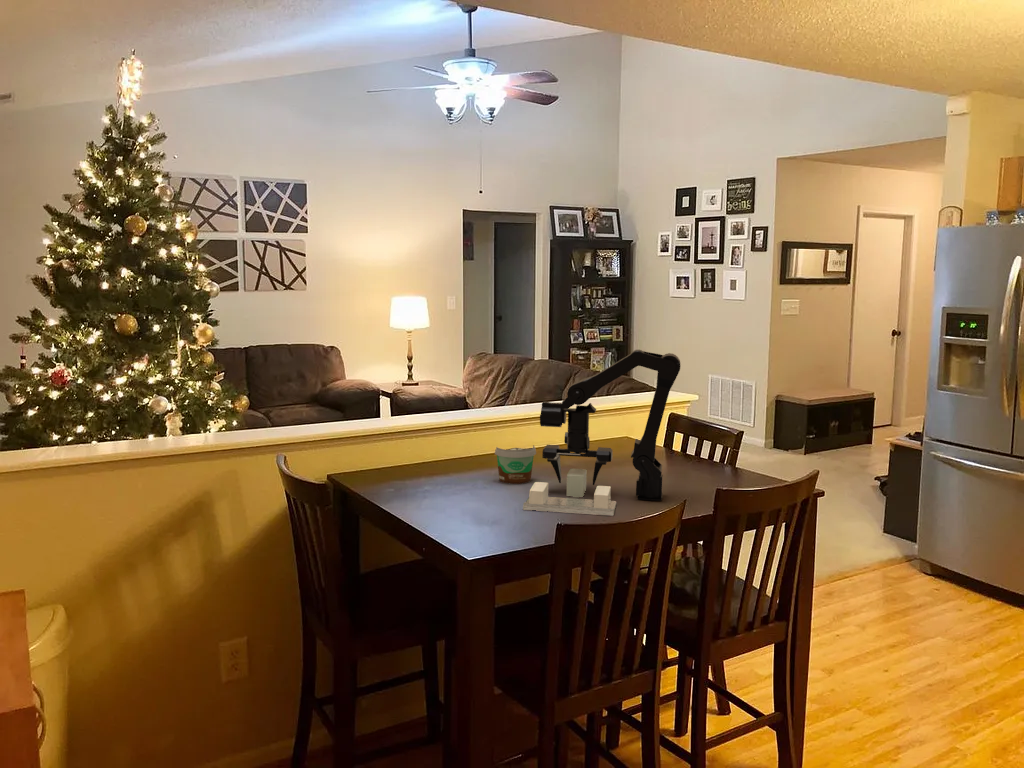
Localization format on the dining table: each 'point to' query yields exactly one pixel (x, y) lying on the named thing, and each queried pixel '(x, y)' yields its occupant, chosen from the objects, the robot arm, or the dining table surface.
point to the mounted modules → (540, 495)
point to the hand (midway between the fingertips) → (576, 483)
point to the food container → (515, 464)
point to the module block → (576, 482)
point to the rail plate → (570, 506)
